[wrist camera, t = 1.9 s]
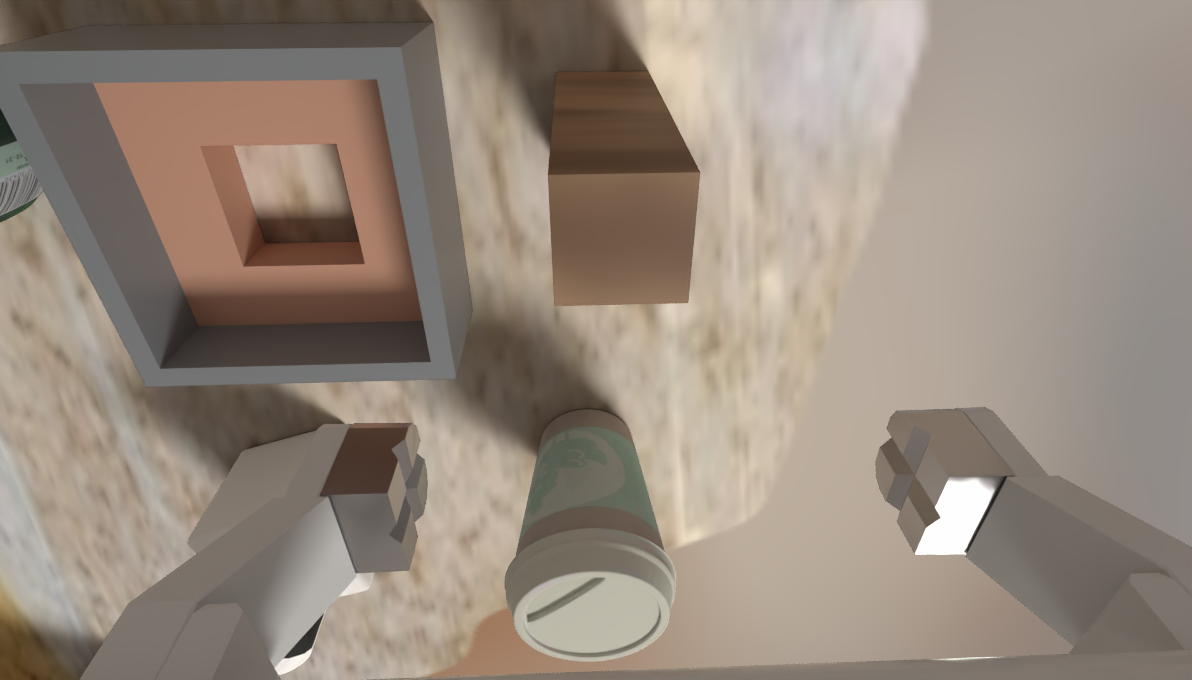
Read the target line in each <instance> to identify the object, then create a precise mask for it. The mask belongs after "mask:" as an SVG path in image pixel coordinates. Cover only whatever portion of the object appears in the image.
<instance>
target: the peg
mask: <svg viewBox="0 0 1192 680" xmlns="http://www.w3.org/2000/svg"><path fill="white" fill-rule="evenodd" d="M699 179H700V171H699V169H698V167H697V165H696V163H695V161H694V159H693V157H692V155H691V154H690V152H689V150H688V148H687V146H686V144H685V142H684V140H683V138H682V136H681V134H680V132H679V130H678V128H677V126H676V124H675V122H674V120H673V118H672V116H671V114H670V112H669V110H668V108H667V107H666V105H665V103H664V101H663V99H662V97H661V95H660V93H659V91H658V89H657V87H656V85H655V83H654V81H653V79H652V77H651V75H650V73H649V71H604V72H556V84H555V96H554V108H553V120H552V132H551V145H550V157H549V169H548V185H549V205H550V225H551V246H552V266H553V286H554V306H576V305H621V304H665V303H688V300H689V289H690V278H691V267H692V256H693V245H694V234H695V223H696V212H697V201H698V190H699Z"/></svg>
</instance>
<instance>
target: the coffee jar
mask: <svg viewBox="0 0 1192 680" xmlns="http://www.w3.org/2000/svg"><path fill="white" fill-rule="evenodd" d="M42 191H43V189H42V187H41V185H40V183H39V181H38V179H37V177H36V175H35V173H34V172H33V170H32V168H31V166H30V164H29V162H28V160H27V158H26V156H25V154H24V152H23V151H22V149H21V147H20V145H19V143H18V141H17V139H16V137H15V135H14V133H13V131H12V130H11V128H10V126H9V124H8V122H7V120H6V118H5V116H4V114H3V112H2V110H1V109H0V222H2V221H5V220H7V219H9V218H11V217H13V216H15V215H17V214H18V213H20V212H22V211H24V210H25V209H26V208H28V207H29V206H30V205H32V203H33V202H34V201H35V200H36V199H37V198H38V196H39V195H40V194H41V192H42Z"/></svg>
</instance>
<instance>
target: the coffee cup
mask: <svg viewBox="0 0 1192 680" xmlns="http://www.w3.org/2000/svg"><path fill="white" fill-rule="evenodd" d="M675 585H676V571H675V567H674V565H673V563H672V561H671V559H670V558H669V557H668V555H667V554H666V553H665V551H664V548H663V544H662V540H661V537H660V533H659V530H658V526H657V523H656V519H655V516H654V512H653V509H652V505H651V502H650V498H649V495H648V491H647V487H646V484H645V480H644V477H643V473H642V470H641V466H640V463H639V459H638V456H637V453H636V449H635V446H634V442H633V439H632V436H631V433H630V430H629V429H628V427H627V426H626V424H625V423H624V422H623V421H621V420H620V419H619V418H617V417H616V416H614V415H612V414H610V413H607V412H604V411H600V410H594V409H581V410H575V411H571V412H568V413H565V414H563V415H561V416H559V417H557V418H556V419H554V420H553V421H552V422H551V423H550V424H549V425H548V426H547V427H546V429H545V430H544V432H543V434H542V438H541V442H540V446H539V451H538V455H537V459H536V464H535V469H534V473H533V478H532V483H531V487H530V492H529V497H528V501H527V506H526V511H525V515H524V520H523V525H522V529H521V534H520V538H519V543H518V548H517V553H516V557H515V558H514V560H513V561H512V562H511V564H510V565H509V567H508V569H507V572H506V576H505V590H506V600H507V604H508V607H509V609H510V611H511V613H512V616H513V622H514V626H515V628H516V631H517V632H518V634H519V636H520V637H521V638H522V639H523V640H524V641H525V642H526V643H527V644H529V645H530V646H531V647H533V648H534V649H536V650H538V651H540V652H542V653H544V654H547V655H550V656H553V657H557V658H561V659H566V660H572V661H602V660H610V659H615V658H619V657H623V656H627V655H629V654H632V653H635V652H637V651H639V650H641V649H643V648H645V647H647V646H648V645H650V644H651V643H652V642H654V641H655V640H656V639H657V638H658V637H659V636H660V635H661V634H662V633H663V631H664V630H665V629H666V626H667V625H668V622H669V618H670V611H671V606H672V604H673V602H674V598H675V594H676V586H675Z"/></svg>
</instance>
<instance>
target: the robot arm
mask: <svg viewBox="0 0 1192 680" xmlns="http://www.w3.org/2000/svg"><path fill="white" fill-rule="evenodd" d="M887 430H888V432H889V433H890V435H891V437H892V438H891V439H889V440H888V441H887V442H886V443H884V444H883V445H882V446H881V447H880V448H879V452H878V455H877V458H876V478H877V482H878V485H879V489H880V491H881V493H882V494H883V497H884V499H885V500H886V501H887V502H888V503H890V504H891V505H892V506H894V507H895V508H897V509H898V510H900V513H899V517H898V520H897V523H898V525H899V526H900V528H901V530H902V532H903V534H904V535H905V537H906V539H907V541H908V543H909V545H910V547H911V548H912V550H913V552H914V554H966V557H967V558H968V559H969V560H970V561H971V562H973V563H974V564H975V565H976V566H978V567H979V568H980V569H981V570H982V571H984V572H985V573H986V574H987V575H988V576H989V577H991V578H992V579H993V580H994V581H996V582H997V583H998V584H999V585H1000V586H1002V587H1003V588H1004V589H1005V590H1006V591H1008V592H1009V593H1010V594H1011V595H1012V596H1014V597H1015V598H1016V599H1017V600H1018V601H1020V602H1021V603H1022V604H1023V605H1024V606H1026V607H1027V608H1028V609H1029V610H1030V611H1032V612H1033V613H1034V614H1035V615H1037V616H1038V617H1039V618H1040V619H1041V620H1043V621H1044V622H1045V623H1046V624H1047V625H1049V626H1050V627H1051V628H1052V629H1053V630H1055V631H1056V632H1057V633H1058V634H1060V635H1061V636H1062V637H1063V638H1064V639H1066V640H1067V641H1068V642H1069V643H1070V644H1072V645H1073V646H1074V648H1073V649H1072V650H1071V652H1070V653H1069V654H1060V655H1059V654H1057V655H1030V656H1004V657H977V658H948V659H922V660H895V661H866V662H838V663H812V664H785V665H760V666H732V667H705V668H679V669H652V670H651V669H650V670H621V671H596V672H595V671H594V672H567V673H566V672H565V673H538V674H537V673H536V674H508V675H479V676H453V677H452V676H451V677H424V678H397V679H369V680H1192V547H1191V546H1189V545H1187V544H1185V543H1183V542H1181V541H1179V540H1178V539H1176V538H1174V537H1172V536H1170V535H1168V534H1166V533H1164V532H1163V531H1161V530H1159V529H1157V528H1155V527H1153V526H1151V525H1149V524H1147V523H1146V522H1144V521H1142V520H1140V519H1138V518H1136V517H1135V516H1133V515H1131V514H1129V513H1127V512H1125V511H1123V510H1122V509H1120V508H1118V507H1116V506H1114V505H1112V504H1110V503H1108V502H1106V501H1105V500H1102V499H1101V498H1099V497H1097V496H1095V495H1093V494H1091V493H1090V492H1088V491H1086V490H1084V489H1082V488H1080V487H1078V486H1076V485H1075V484H1073V483H1071V482H1069V481H1067V480H1065V479H1063V478H1061V477H1060V476H1049V475H1048V474H1047V473H1046V472H1045V471H1044V470H1043V468H1042V467H1041V466H1040V465H1039V464H1038V463H1037V461H1036V460H1035V459H1034V458H1033V457H1032V456H1031V455H1030V453H1029V452H1028V451H1027V450H1026V449H1025V448H1024V446H1023V445H1022V444H1021V443H1020V442H1019V441H1018V439H1017V438H1016V437H1015V436H1014V435H1013V434H1012V432H1011V431H1010V430H1009V429H1008V428H1007V427H1006V425H1005V424H1004V423H1003V422H1002V421H1001V420H1000V418H999V417H998V416H997V415H996V414H995V413H994V412H993V411H992V410H990V409H988V408H986V407H975V408H955V409H933V410H903V411H896V412H895V413H894V414H893V415H892V416H891V417H890V420H889V423H888V426H887ZM419 443H420V437H419V434H418V430H417V426H416V425H414V424H413V423H354V424H323V425H322V426H321V427H319V428H318V429H317V430H316V432H315V434H314V436H313V438H312V440H311V442H310V445H309V447H308V449H307V451H306V453H305V455H304V457H303V459H302V461H301V463H300V465H299V467H298V469H297V471H296V473H295V475H294V477H293V479H292V481H291V483H290V485H289V487H288V489H287V491H286V493H285V495H284V497H283V498H273V499H272V500H271V501H269V502H268V503H266V504H265V505H264V506H262V507H261V508H260V509H258V510H257V511H255V512H254V513H253V514H251V515H250V516H248V517H247V518H246V519H244V520H243V521H242V522H240V523H239V524H237V525H236V526H235V527H233V528H232V529H231V530H229V531H228V532H226V533H225V534H224V535H222V536H221V537H220V538H218V539H217V540H215V541H214V542H213V543H211V544H210V545H209V546H207V547H206V548H204V549H203V550H202V551H200V552H199V553H198V554H196V555H195V556H193V557H192V558H191V559H189V560H188V561H186V562H185V563H184V564H182V565H181V566H180V567H178V568H177V569H175V570H174V571H173V572H171V573H170V574H169V575H167V576H166V577H164V578H163V579H162V580H160V581H159V582H158V583H156V584H155V585H153V586H152V587H151V588H149V589H148V590H147V591H145V592H144V593H142V594H141V595H140V596H138V597H137V598H135V599H134V600H133V601H131V602H130V603H129V604H128V605H127V606H126V608H125V610H124V611H123V613H122V614H121V616H120V617H119V619H118V620H117V622H116V623H115V625H114V627H113V628H112V630H111V631H110V633H109V634H108V636H107V637H106V639H105V641H104V642H103V644H102V645H101V647H100V648H99V650H98V651H97V653H96V654H95V656H94V658H93V659H92V661H91V662H90V664H89V665H88V667H87V668H86V669H85V671H84V673H83V675H82V676H81V678H80V679H79V680H281V679H280V677H279V675H278V674H277V672H276V670H275V667H276V666H277V665H278V664H279V662H280V661H281V660H282V659H283V658H284V657H285V656H286V655H287V654H288V652H289V651H290V650H291V649H292V648H293V647H294V646H295V645H296V644H297V642H298V641H299V640H300V639H301V638H302V637H303V636H304V635H305V634H306V632H307V631H308V630H309V629H310V628H311V627H312V626H313V625H314V624H315V622H316V621H317V620H318V619H319V618H320V617H321V616H322V615H323V613H324V612H325V611H326V610H327V609H328V608H329V607H330V606H331V605H332V603H333V602H334V601H335V600H336V599H337V598H338V597H339V596H340V595H341V593H342V592H343V591H344V590H345V589H346V588H347V587H348V586H349V585H350V583H351V582H352V581H353V580H354V579H355V578H356V574H357V573H374V572H391V571H408V570H410V566H411V562H412V558H413V554H414V550H415V546H416V542H417V538H418V535H417V531H416V526H415V522H416V521H417V520H418V519H419V518H420V517H421V516H422V515H423V513H424V509H425V504H426V499H427V486H428V481H427V469H426V464H425V460H424V459H423V458H422V457H421V456H420V455H418V454H417V451H418V447H419Z"/></svg>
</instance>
